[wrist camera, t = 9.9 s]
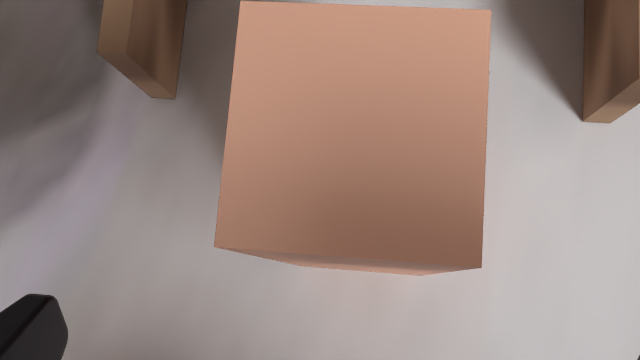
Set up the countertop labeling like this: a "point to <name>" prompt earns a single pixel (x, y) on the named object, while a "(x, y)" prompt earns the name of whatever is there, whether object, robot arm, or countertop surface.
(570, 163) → the countertop surface
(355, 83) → the block
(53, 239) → the countertop surface
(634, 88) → the brown u-shaped piece
